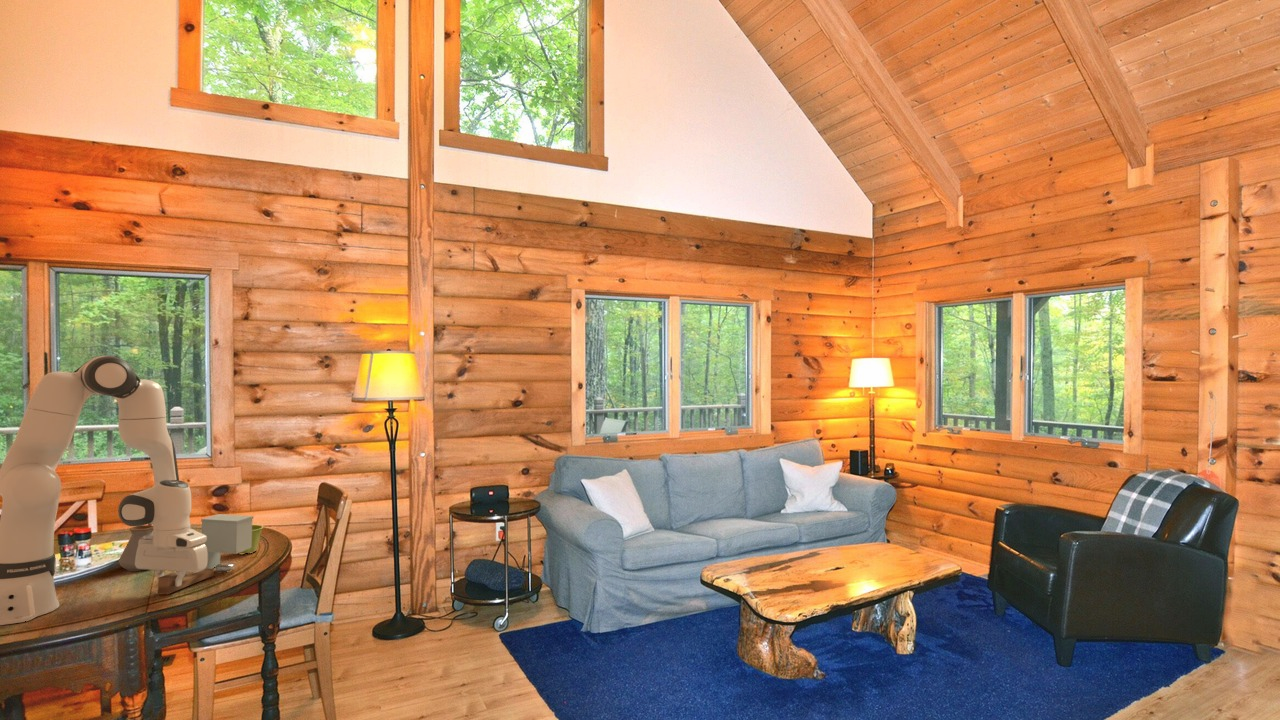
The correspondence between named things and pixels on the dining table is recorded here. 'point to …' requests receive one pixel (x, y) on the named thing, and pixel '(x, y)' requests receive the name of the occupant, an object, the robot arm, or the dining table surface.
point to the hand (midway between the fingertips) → (170, 585)
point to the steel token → (224, 567)
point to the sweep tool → (167, 580)
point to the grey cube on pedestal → (226, 535)
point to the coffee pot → (134, 546)
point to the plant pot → (254, 538)
